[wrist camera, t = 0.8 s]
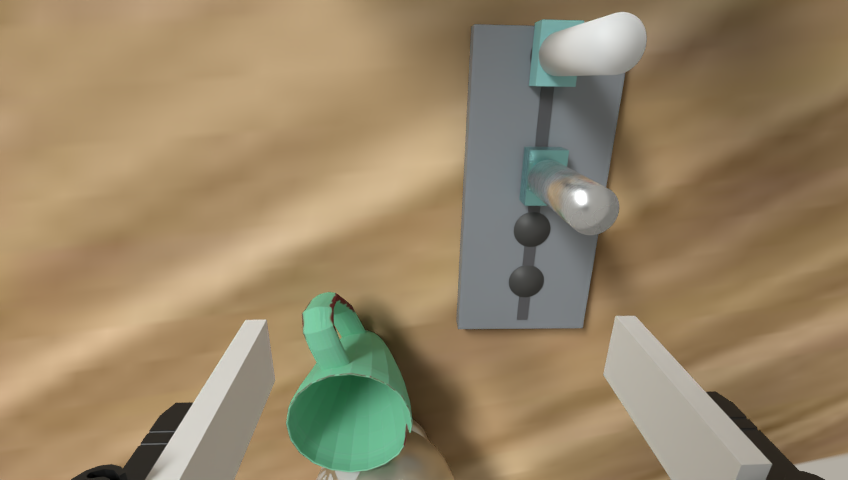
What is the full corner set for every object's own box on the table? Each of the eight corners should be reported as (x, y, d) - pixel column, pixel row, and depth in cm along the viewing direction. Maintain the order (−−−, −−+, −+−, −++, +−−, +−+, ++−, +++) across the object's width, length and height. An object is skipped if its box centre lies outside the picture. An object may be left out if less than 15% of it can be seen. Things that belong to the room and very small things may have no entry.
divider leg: (524, 146, 35) (574, 174, 25) (561, 147, 35) (625, 174, 25) (519, 199, 36) (564, 246, 26) (554, 200, 36) (612, 246, 26)
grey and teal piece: (471, 23, 33) (508, -8, 21) (623, 27, 34) (740, -1, 22) (456, 320, 42) (476, 412, 31) (576, 319, 43) (641, 410, 31)
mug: (421, 378, 44) (426, 457, 35) (330, 400, 45) (310, 484, 36) (381, 251, 39) (374, 304, 30) (279, 276, 40) (241, 337, 30)
